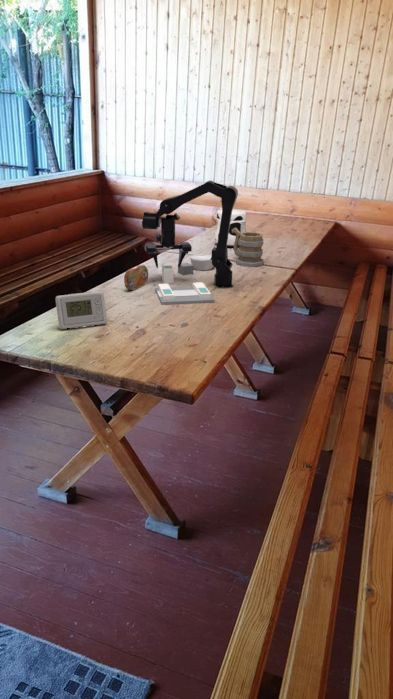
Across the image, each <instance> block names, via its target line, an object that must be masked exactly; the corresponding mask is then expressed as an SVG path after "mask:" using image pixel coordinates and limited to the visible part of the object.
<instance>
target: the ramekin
mask: <svg viewBox="0 0 393 699" xmlns="http://www.w3.org/2000/svg"><path fill="white" fill-rule="evenodd" d="M211 257H212V254H211V255H210V254H200V253H198V254H193V255H192V254H191V255H190V258H189V259H190V264H191V265H193V270H195V271H202V270H204V271H211V270H212V269H213V268H214V266H213V265H212V260H210V259H211Z"/></svg>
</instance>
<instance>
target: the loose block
mask: <svg viewBox="0 0 393 699" xmlns="http://www.w3.org/2000/svg"><path fill="white" fill-rule="evenodd" d="M177 274H180V275H182V276H190V275H194V269H193V265H191V263H189V262H184V263H183V262H182V263H181V265H180V268H179V267H178V266H177ZM189 274H190V275H189Z"/></svg>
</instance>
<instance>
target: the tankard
mask: <svg viewBox="0 0 393 699" xmlns="http://www.w3.org/2000/svg"><path fill="white" fill-rule="evenodd" d="M232 233H236V239H235V243H234V247H233V252H234V255H235V256H237V258H236V260H235V264H236V265H239V266H241V267H247V268H248V267H250V268H256V267H260V266H263V264H264V259H263V258H262V256H263V253H264V252H263V251H264V249H263V248H262V247H263V246H264V239H263V235H264V234H263V233H260V232H253V231H246V232H243V233H241V232H240V231H239V230H238V229H237V228H234V229H232ZM238 245H240V246H238Z"/></svg>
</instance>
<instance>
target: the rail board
mask: <svg viewBox="0 0 393 699" xmlns="http://www.w3.org/2000/svg"><path fill="white" fill-rule="evenodd" d="M154 291H155V293H156V295H157V297H158V299H159V302H160V303H161V305H164V306H165V305H166V306H167V305H183V304H185V305H186V304H188V305H189V304H206V303H207V304H209V303H215V298H214V297H213V296H212V294H211V291H210V290H209V289H208V288H207V286H206V285H205V284H204V283H203V281H202V282H199V281H198V282H192V286H171V287H170V283H158V284H157V287H155V288H154Z"/></svg>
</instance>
